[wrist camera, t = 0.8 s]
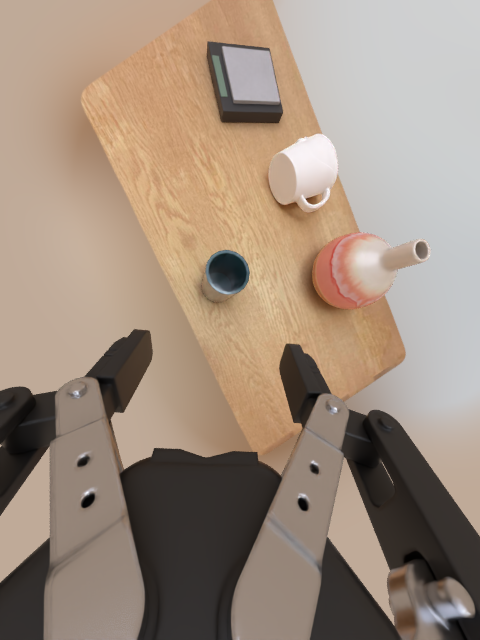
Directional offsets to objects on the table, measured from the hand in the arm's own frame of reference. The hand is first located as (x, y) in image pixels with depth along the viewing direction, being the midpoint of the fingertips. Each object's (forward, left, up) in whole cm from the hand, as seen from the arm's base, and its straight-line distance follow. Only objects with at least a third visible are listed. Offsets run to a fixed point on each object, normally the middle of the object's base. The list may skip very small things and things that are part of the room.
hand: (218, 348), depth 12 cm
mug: (+25, +23, -25) cm, 42 cm away
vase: (+29, +4, -25) cm, 38 cm away
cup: (+5, +7, -24) cm, 26 cm away
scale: (+19, +43, -24) cm, 53 cm away
